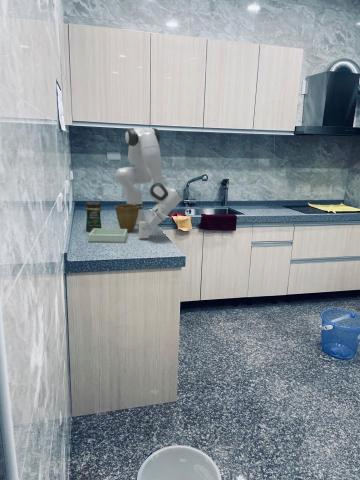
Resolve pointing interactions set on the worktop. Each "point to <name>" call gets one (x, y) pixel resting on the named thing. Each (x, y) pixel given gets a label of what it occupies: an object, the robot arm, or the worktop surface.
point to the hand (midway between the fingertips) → (142, 228)
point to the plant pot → (127, 216)
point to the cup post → (141, 232)
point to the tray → (108, 235)
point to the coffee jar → (93, 215)
